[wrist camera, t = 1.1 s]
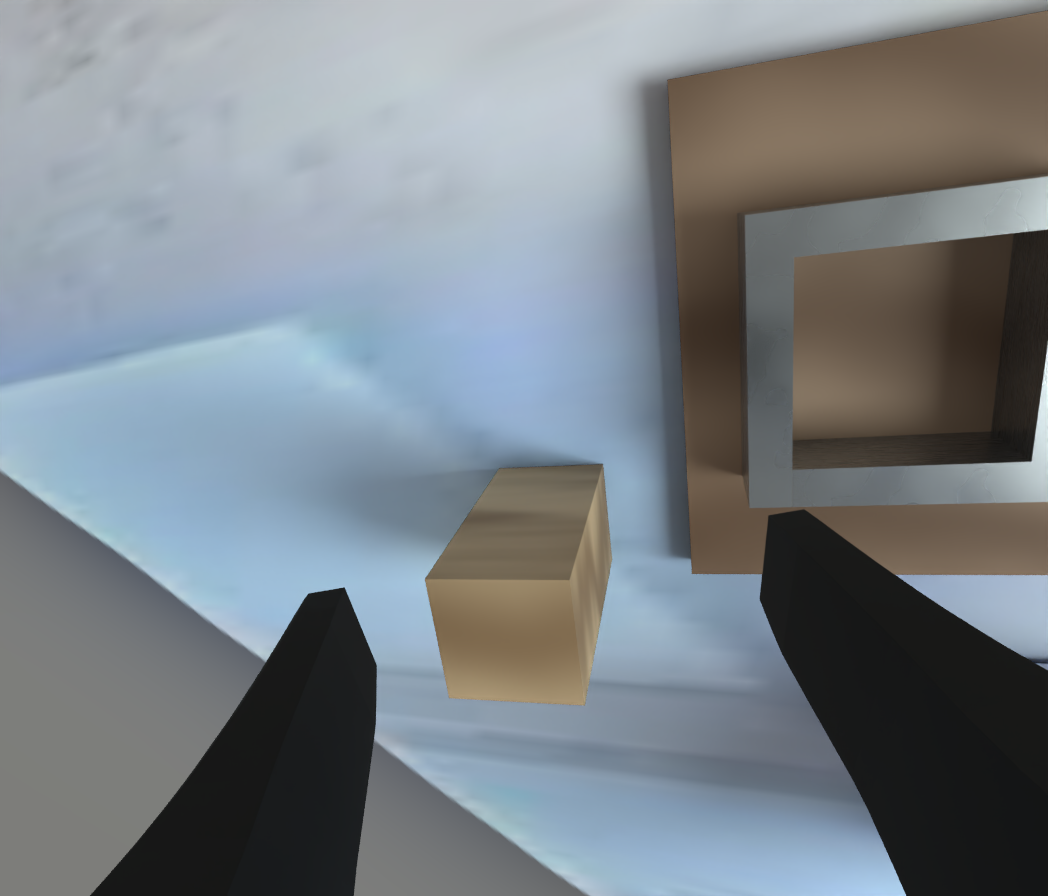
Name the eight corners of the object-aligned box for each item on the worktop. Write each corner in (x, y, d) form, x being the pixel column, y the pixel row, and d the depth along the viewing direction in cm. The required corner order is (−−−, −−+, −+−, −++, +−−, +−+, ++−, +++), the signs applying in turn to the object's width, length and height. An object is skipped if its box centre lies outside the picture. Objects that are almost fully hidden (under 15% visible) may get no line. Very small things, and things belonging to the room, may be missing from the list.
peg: (612, 559, 25) (584, 705, 18) (513, 559, 26) (449, 698, 19) (603, 464, 24) (569, 580, 17) (499, 468, 25) (424, 579, 18)
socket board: (1065, 559, 22) (1131, 621, 18) (691, 559, 24) (693, 613, 21) (1158, -3, 16) (1275, -52, 13) (668, 85, 19) (666, 62, 16)
